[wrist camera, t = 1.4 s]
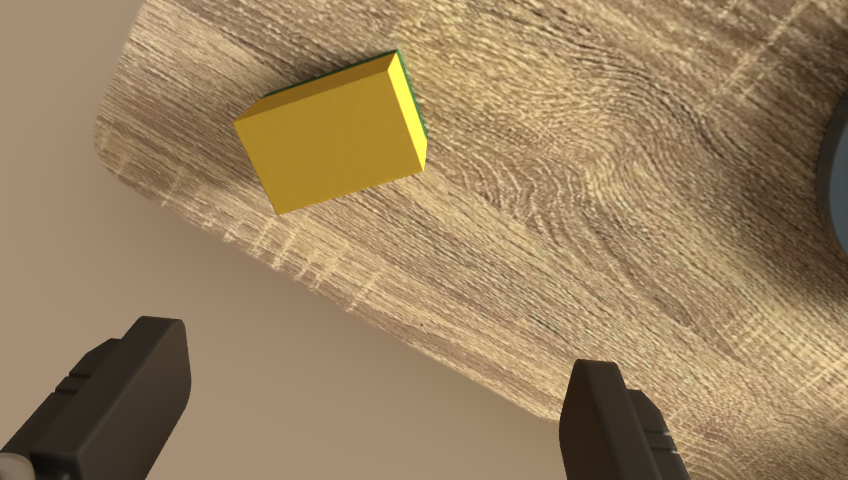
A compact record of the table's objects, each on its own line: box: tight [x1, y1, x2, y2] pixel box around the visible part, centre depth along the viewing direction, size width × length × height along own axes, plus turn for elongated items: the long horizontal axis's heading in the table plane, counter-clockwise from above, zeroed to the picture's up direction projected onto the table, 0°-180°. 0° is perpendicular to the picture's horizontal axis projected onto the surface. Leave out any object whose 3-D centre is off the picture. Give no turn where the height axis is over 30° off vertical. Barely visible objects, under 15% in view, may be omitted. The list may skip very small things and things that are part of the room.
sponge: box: [232, 50, 427, 215], centre depth 27 cm, size 4×7×5 cm, turn 108°
